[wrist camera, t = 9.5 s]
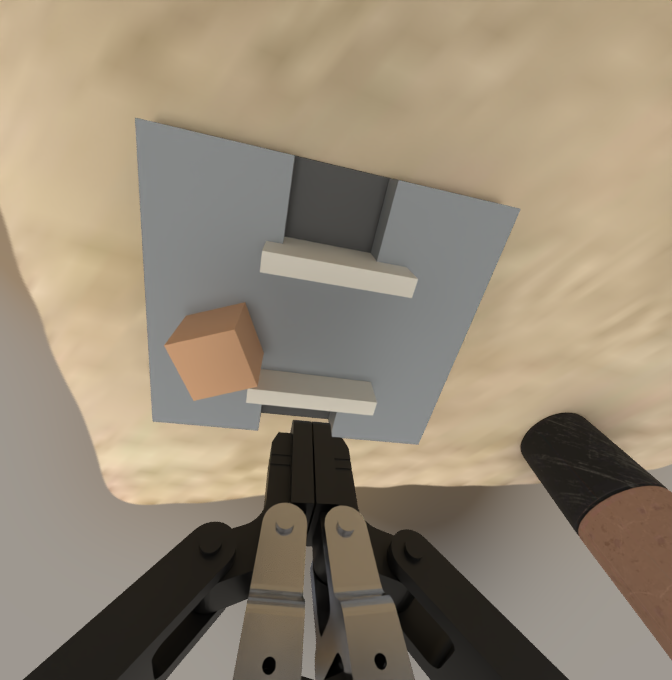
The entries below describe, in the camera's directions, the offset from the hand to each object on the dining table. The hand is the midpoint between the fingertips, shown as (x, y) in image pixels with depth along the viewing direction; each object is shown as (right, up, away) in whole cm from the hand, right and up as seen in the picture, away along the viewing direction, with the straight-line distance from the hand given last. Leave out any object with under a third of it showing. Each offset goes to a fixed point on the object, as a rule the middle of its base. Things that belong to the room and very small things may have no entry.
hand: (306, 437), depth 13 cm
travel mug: (+24, -6, +21) cm, 33 cm away
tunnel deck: (0, +6, +12) cm, 13 cm away
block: (-6, +4, +9) cm, 12 cm away
